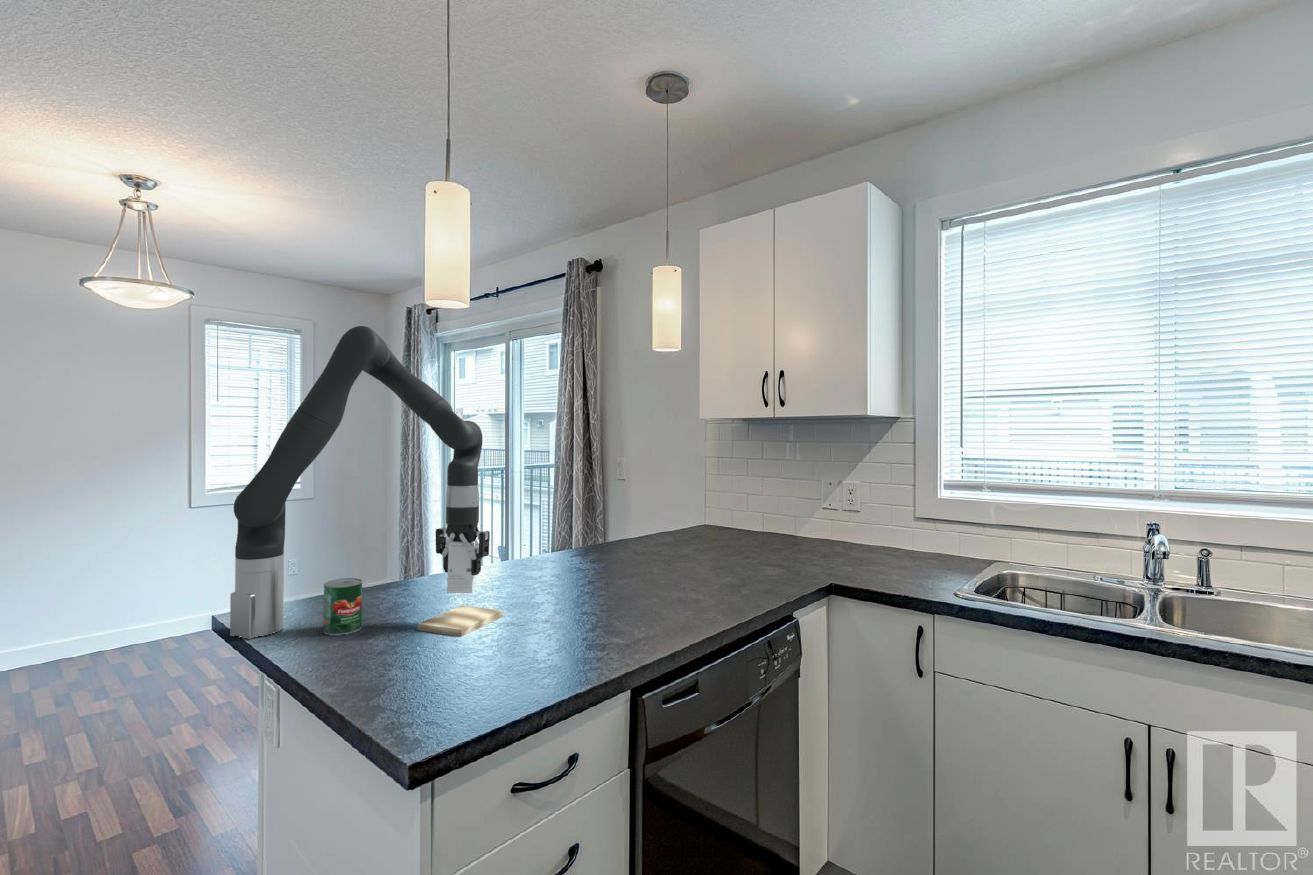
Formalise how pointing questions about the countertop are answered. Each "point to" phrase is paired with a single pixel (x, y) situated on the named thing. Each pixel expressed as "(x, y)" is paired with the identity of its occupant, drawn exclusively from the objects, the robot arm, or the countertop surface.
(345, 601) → the canned tomato
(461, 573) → the skincare box
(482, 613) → the birch board
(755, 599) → the countertop surface
